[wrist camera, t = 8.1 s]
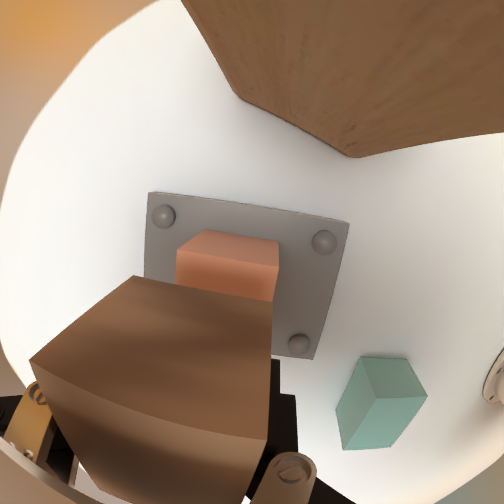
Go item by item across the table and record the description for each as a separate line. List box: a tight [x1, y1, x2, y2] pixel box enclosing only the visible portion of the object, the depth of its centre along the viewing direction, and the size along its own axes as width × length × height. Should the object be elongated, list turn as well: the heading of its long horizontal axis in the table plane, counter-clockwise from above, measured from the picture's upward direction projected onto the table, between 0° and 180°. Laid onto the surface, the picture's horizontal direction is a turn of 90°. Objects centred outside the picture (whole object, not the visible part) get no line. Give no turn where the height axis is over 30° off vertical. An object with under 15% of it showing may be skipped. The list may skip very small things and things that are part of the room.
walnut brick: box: [29, 275, 273, 504], centre depth 7 cm, size 5×7×6 cm
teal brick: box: [336, 357, 428, 450], centre depth 19 cm, size 5×7×6 cm
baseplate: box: [144, 192, 349, 360], centre depth 17 cm, size 14×11×6 cm
